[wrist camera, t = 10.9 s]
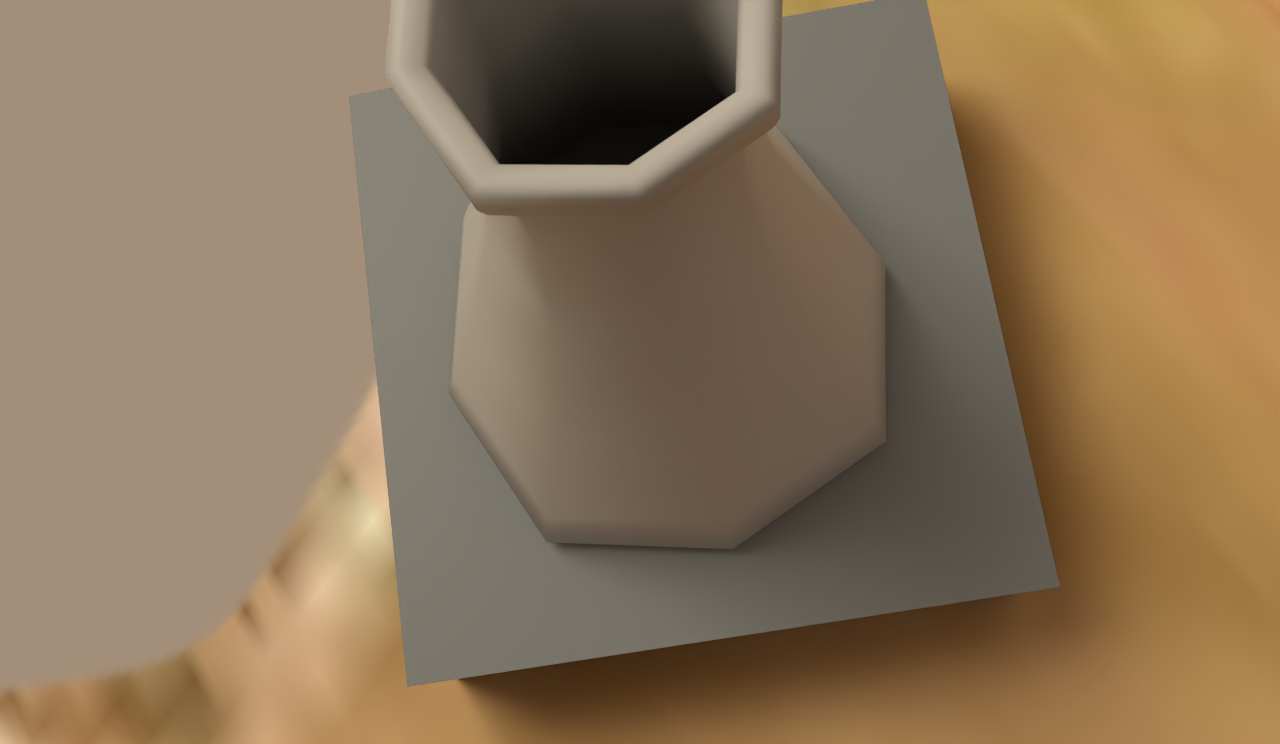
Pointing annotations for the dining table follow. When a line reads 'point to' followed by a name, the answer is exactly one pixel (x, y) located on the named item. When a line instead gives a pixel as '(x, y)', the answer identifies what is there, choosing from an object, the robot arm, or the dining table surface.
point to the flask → (643, 265)
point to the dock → (812, 529)
